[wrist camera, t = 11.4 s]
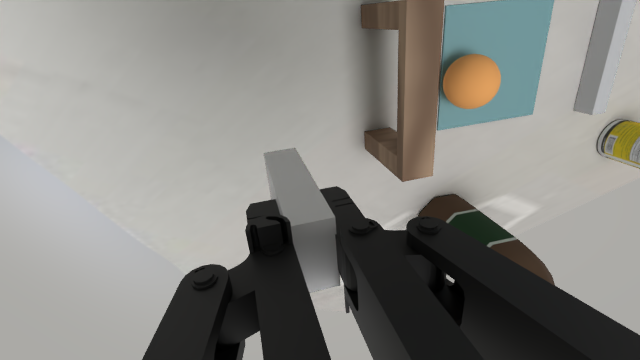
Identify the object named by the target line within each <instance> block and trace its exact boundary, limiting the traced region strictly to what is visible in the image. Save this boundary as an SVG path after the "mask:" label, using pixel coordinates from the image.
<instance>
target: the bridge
mask: <svg viewBox="0 0 640 360" xmlns="http://www.w3.org/2000/svg"><path fill="white" fill-rule="evenodd" d="M443 12H444V0H400V1H392V2H384V3H375V4H367V5H361V22H362V28H369V29H391V30H399V45H398V110H397V132H396V131H394V130H393V129H391V128H390V127H389V128H383V129H377V130H371V131H365V149H366V150H367V151H368V152H369V153H371V154H372V155H373V156H374V157H375V158H376V159H377V160H378V161H380V162H381V163H382V164H383V165H384V166H385V167H386V168H387V169H389V170H390V171H391V172H392V173H393V174H394V175H395V176H396V177H398V178H399V179H400V180H401V181H402V182H404V181H409V180H414V179H419V178H424V177H429V176H433V164H434V148H435V133H436V118H437V103H438V88H439V72H440V57H441V42H442V27H443Z"/></svg>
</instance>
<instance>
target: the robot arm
mask: <svg viewBox="0 0 640 360" xmlns="http://www.w3.org/2000/svg"><path fill="white" fill-rule="evenodd" d="M264 159H265V165H266V171H267V177H268V183H269V189H270V195H271V200H268V201H263V202H258V203H253V204H250V206H249V207H248V209H247V211H246V215H247V223H248V225H247V226H246V230H245V231H246V236H247V241H248V246H249V250H250V254H249V256H248V257H247V259H246V260H245V261H244V262H242V263H241V264H240V265H238V266H236V267H234V268H232V269H230V270H228V271H227V269H226V268H225V267H223V266H221V265H214V264H210V265H205V266H201V267H199V268H196V269H194V270H192V271H191V272H189V273H188V274H187V275H185V277H184V278H183V279H182V281H181V282H180V284H179V286H178V288H177V290H176V292H175V294H174V296H173V298H172V300H171V303H170V305H169V307H168V308H167V310H166V313H165V315H164V317H163V319H162V320H161V322H160V324H159V327H158V329H157V331H156V333H155V335H154V337H153V339H152V341H151V343H150V345H149V347H148V349H147V351H146V353H145V355H144V357H143V359H142V360H242V358H243V353H244V348H245V339H246V338H248V337H250V336H251V335H253V334H255V333H257V332H258V331H260V334H261V342H262V350H263V358H264V360H331V358H330V355H329V352H328V349H327V346H326V343H325V340H324V336H323V333H322V330H321V327H320V324H319V321H318V318H317V315H316V312H315V309H314V306H313V303H312V300H311V297H310V294H309V293H311V292H315V291H319V290H323V289H327V288H331V287H335V286H339V285H340V275H341V278H342V280H343V282H344V294H345V308H346V313H349V306H350V308H351V310H352V313H353V315H354V317H355V319H356V322H357V324H358V326H359V328H360V330H361V333H362V335H363V337H364V339H365V341H366V344H367V346H368V348H369V351H370V353H371V355H372V357H373V360H640V335H638V334H637V333H635V332H633V331H632V330H630V329H628V328H626V327H625V326H623V325H621V324H620V323H617V322H616V321H614V320H613V319H611V318H609V317H607V316H606V315H604V314H602V313H600V312H599V311H597V310H595V309H594V308H592V307H591V306H589V305H587V304H585V303H584V302H582V301H580V300H579V299H577V298H575V297H573V296H572V295H570V294H568V293H566V292H565V291H563V290H561V289H560V288H558V287H556V286H555V285H553V284H551V283H549V282H548V281H546V280H544V279H543V278H541V277H539V276H538V275H536V274H534V273H532V272H531V271H529V270H527V269H526V268H524V267H522V266H520V265H519V264H517V263H515V262H514V261H512V260H510V259H508V258H507V257H505V256H503V255H502V254H500V253H498V252H497V251H495V250H493V249H491V248H490V247H488V246H486V245H485V244H483V243H481V242H479V241H478V240H476V239H474V238H473V237H471V236H469V235H467V234H466V233H464V232H462V231H461V230H459V229H457V228H455V227H454V226H452V225H450V224H449V223H447V222H445V221H443V220H441V219H439V218H435V217H430V216H420V217H416V218H413V219H412V220H410V221H409V222H408V224H407V227H406V230H396V231H392V230H384V229H383V228H382V227H381V225H380V224H378V223H377V222H376V221H374V220H371V219H368V218H365V217H364V216H363V214H362V213H361V212H360V210H359V209H358V207H357V206H356V205H355V203H354V202H353V201H352V199H351V198H350V196H349V195H348V194H347V192H346V191H345V190H343V189H341V188H339V187H337V186H336V187H330V188H325V189H320V190H319V188H318V186H317V185H316V183H315V181H314V179H313V178H312V176H311V174H310V173H309V171H308V169H307V167H306V166H305V164H304V162H303V161H302V159H301V157H300V155H299V154H298V152H297V150H296V148H292V149H286V150H280V151H274V152H268V153H264ZM339 273H340V274H339ZM446 274H447V275H449V276H450V277H451V278H453V279H454V280H455V281H454V283H452V282H451V281H449V280H448V279H446Z"/></svg>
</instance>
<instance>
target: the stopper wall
mask: <svg viewBox="0 0 640 360" xmlns="http://www.w3.org/2000/svg"><path fill="white" fill-rule="evenodd" d="M636 1H637V0H600V3H599V7H598V11H597V15H596V19H595V23H594V28H593V32H592V36H591V40H590V44H589V48H588V53H587V57H586V61H585V65H584V69H583V73H582V78H581V82H580V86H579V90H578V94H577V98H576V102H575V107H574V111H578V112H582V113H586V114H590V115H595V114H601V113H605V112H606V108H607V104H608V101H609V97H610V94H611V90H612V87H613V83H614V80H615V76H616V72H617V69H618V65H619V62H620V58H621V55H622V51H623V48H624V44H625V40H626V37H627V33H628V30H629V26H630V23H631V19H632V16H633V12H634V8H635V5H636Z"/></svg>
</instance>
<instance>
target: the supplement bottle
mask: <svg viewBox="0 0 640 360" xmlns="http://www.w3.org/2000/svg"><path fill="white" fill-rule="evenodd" d="M598 151H599V153H600V154H601V155H602V156H604V157H607V158H610V159H612V160H615V161H618V162H621V163H624V164H627V165H630V166H633V167H636V168H639V169H640V123H637V122H633V121H628V120H617V121H615V122H613V123H611V124H610V125H608V126H607V127H606V128H605V130H604V131H603V132H602V134H601V135H600V137H599V140H598Z"/></svg>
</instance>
